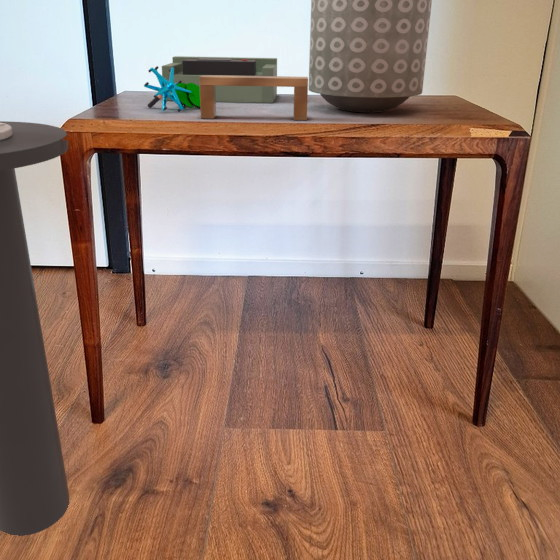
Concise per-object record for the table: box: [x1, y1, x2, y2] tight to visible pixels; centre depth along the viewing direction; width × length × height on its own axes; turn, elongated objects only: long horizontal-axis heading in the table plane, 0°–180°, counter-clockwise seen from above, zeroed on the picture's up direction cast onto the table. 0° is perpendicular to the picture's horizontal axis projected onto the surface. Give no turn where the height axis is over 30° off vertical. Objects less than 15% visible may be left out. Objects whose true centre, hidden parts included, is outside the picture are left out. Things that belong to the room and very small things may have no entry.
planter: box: [308, 0, 433, 113], centre depth 98 cm, size 19×19×18 cm
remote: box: [182, 58, 256, 76], centre depth 109 cm, size 13×5×3 cm, turn 89°
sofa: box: [161, 55, 278, 104], centre depth 112 cm, size 12×20×7 cm, turn 87°
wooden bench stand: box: [199, 75, 309, 121], centre depth 90 cm, size 16×3×6 cm, turn 89°
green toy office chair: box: [143, 65, 201, 113], centre depth 99 cm, size 12×7×8 cm
